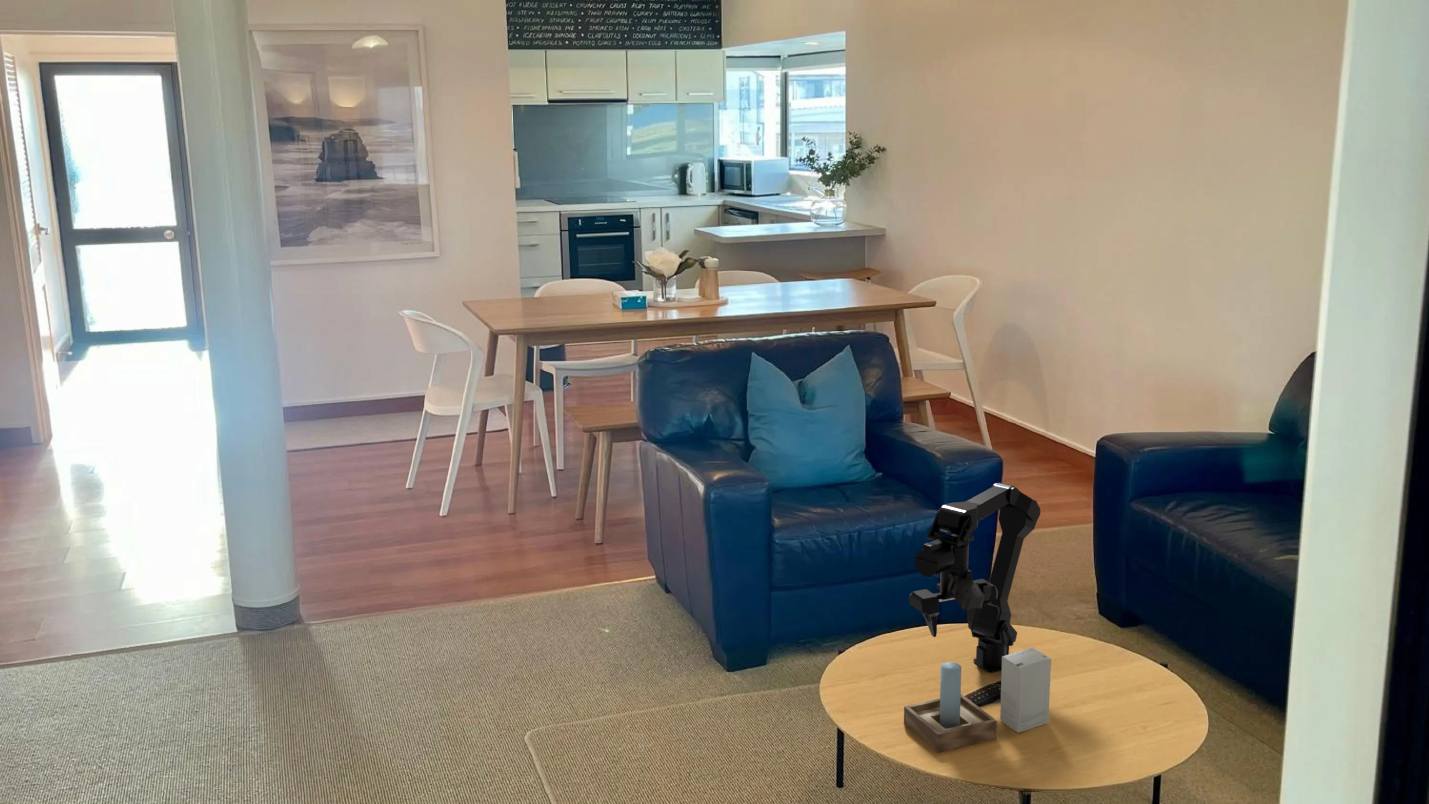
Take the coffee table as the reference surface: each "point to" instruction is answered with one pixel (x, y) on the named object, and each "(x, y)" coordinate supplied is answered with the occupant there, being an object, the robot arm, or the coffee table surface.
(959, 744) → the bore box
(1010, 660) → the skincare box
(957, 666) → the peg
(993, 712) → the coffee table surface
